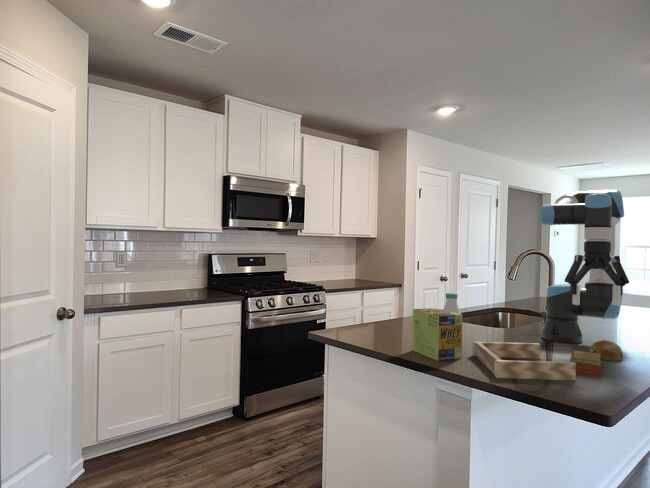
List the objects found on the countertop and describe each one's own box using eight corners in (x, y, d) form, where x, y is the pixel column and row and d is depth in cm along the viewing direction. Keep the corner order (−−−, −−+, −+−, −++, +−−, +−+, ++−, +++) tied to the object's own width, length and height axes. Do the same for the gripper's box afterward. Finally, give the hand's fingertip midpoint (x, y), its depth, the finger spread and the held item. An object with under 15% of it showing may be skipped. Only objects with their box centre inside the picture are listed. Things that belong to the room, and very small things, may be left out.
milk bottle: (462, 346, 166) (462, 295, 166) (441, 345, 167) (442, 294, 167) (459, 341, 173) (460, 292, 173) (440, 340, 175) (440, 292, 175)
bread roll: (616, 373, 147) (629, 353, 145) (585, 356, 151) (597, 336, 150) (615, 366, 155) (627, 347, 153) (585, 350, 160) (597, 331, 158)
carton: (600, 366, 143) (600, 353, 143) (600, 379, 129) (601, 365, 129) (571, 361, 147) (572, 349, 147) (569, 374, 134) (569, 360, 134)
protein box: (438, 361, 145) (439, 315, 145) (411, 350, 159) (412, 308, 159) (462, 358, 149) (463, 314, 149) (434, 348, 163) (435, 307, 163)
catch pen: (538, 357, 151) (538, 343, 151) (575, 380, 126) (575, 363, 126) (472, 355, 153) (472, 341, 153) (496, 378, 128) (496, 361, 128)
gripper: (626, 241, 146) (624, 303, 146) (553, 240, 145) (552, 302, 145) (642, 241, 138) (641, 307, 138) (566, 239, 138) (565, 305, 138)
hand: (596, 305), depth 142 cm, fingers open, 13 cm apart
